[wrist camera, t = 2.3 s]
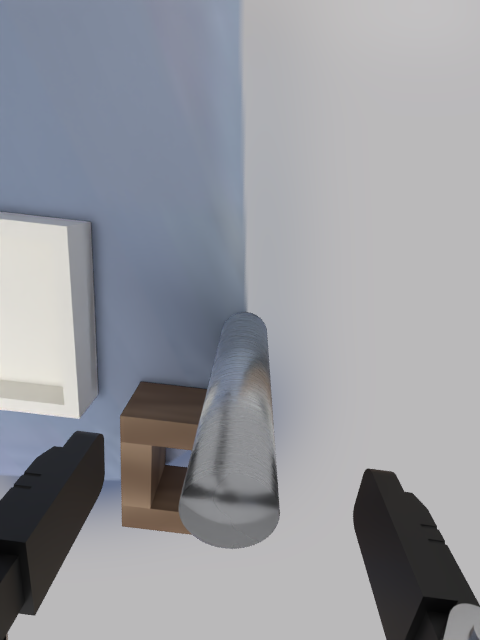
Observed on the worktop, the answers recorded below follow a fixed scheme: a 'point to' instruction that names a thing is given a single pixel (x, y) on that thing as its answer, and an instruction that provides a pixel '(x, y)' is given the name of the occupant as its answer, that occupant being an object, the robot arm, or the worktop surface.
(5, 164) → the worktop surface
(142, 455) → the bore block
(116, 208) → the worktop surface
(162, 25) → the worktop surface
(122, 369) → the worktop surface
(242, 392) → the cylinder
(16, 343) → the tray
